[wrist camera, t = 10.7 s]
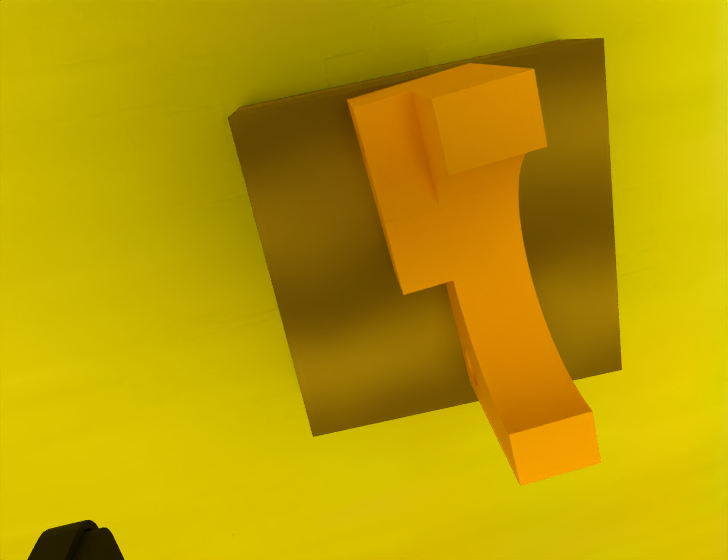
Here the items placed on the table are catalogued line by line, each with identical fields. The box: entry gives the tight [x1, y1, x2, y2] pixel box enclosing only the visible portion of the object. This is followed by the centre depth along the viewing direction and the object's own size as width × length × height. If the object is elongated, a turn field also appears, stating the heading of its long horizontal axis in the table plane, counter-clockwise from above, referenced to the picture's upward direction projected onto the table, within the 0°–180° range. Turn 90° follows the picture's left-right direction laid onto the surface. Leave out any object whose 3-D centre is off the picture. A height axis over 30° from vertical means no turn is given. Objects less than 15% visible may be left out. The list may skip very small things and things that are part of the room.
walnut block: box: [228, 38, 622, 437], centre depth 25 cm, size 13×13×4 cm
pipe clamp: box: [347, 63, 601, 486], centre depth 20 cm, size 12×4×6 cm, turn 16°
